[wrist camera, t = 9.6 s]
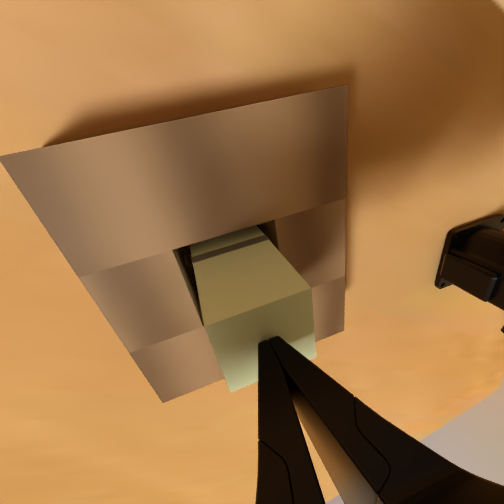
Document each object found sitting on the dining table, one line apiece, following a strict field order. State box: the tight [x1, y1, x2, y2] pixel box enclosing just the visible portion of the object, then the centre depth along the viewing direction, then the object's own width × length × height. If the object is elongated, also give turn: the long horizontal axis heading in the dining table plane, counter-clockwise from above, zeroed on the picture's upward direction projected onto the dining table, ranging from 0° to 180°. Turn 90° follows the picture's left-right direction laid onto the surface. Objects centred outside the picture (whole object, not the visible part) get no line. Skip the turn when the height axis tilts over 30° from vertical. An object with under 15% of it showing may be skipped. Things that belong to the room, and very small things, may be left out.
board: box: [0, 84, 348, 403], centre depth 15 cm, size 14×16×3 cm
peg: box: [190, 225, 316, 392], centre depth 13 cm, size 4×4×8 cm
